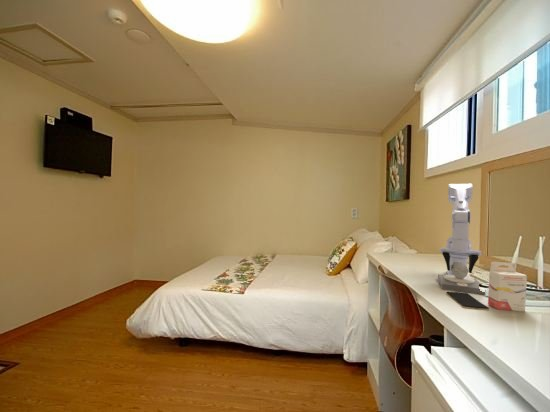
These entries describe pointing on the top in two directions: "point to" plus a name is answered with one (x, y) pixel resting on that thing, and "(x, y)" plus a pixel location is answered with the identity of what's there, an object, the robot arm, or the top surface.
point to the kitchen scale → (459, 284)
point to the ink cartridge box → (506, 287)
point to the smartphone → (467, 301)
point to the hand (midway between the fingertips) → (459, 271)
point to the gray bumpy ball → (459, 269)
